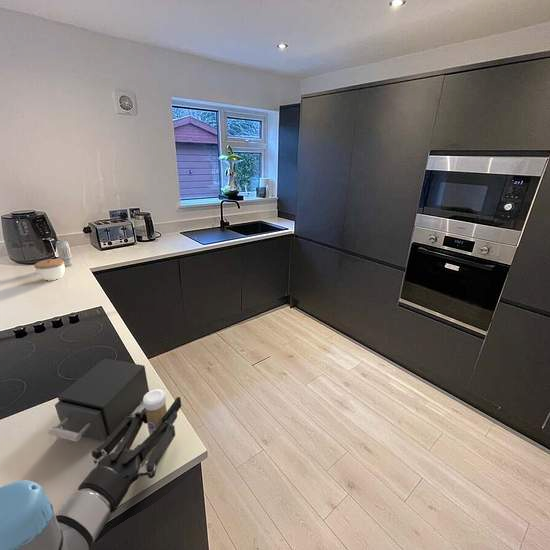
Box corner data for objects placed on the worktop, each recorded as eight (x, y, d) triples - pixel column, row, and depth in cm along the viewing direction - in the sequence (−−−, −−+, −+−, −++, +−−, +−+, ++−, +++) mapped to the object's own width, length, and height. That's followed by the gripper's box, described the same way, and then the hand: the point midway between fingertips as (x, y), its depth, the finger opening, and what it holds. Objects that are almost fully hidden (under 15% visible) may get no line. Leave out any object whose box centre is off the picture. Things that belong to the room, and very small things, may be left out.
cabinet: (111, 437, 68) (103, 407, 65) (67, 426, 71) (57, 396, 67) (149, 393, 81) (144, 365, 78) (111, 385, 84) (104, 358, 80)
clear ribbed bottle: (64, 267, 171) (58, 243, 166) (59, 265, 174) (53, 241, 168) (75, 264, 176) (69, 241, 170) (70, 262, 179) (64, 239, 173)
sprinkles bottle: (146, 447, 66) (138, 403, 61) (156, 430, 70) (148, 387, 65) (166, 449, 66) (159, 405, 61) (174, 432, 70) (168, 389, 65)
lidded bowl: (38, 285, 147) (32, 264, 143) (39, 277, 157) (33, 258, 153) (68, 279, 154) (63, 260, 150) (67, 272, 164) (62, 254, 160)
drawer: (88, 457, 63) (80, 431, 60) (45, 445, 65) (36, 420, 62) (141, 397, 79) (136, 374, 76) (105, 389, 81) (100, 367, 78)
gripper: (58, 502, 52) (141, 404, 73) (142, 529, 49) (204, 418, 70) (47, 475, 49) (136, 381, 71) (135, 501, 46) (201, 394, 67)
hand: (170, 399), depth 70 cm, fingers closed on sprinkles bottle, 4 cm apart
